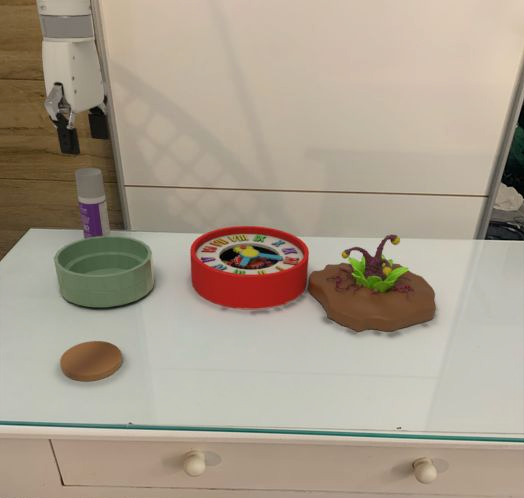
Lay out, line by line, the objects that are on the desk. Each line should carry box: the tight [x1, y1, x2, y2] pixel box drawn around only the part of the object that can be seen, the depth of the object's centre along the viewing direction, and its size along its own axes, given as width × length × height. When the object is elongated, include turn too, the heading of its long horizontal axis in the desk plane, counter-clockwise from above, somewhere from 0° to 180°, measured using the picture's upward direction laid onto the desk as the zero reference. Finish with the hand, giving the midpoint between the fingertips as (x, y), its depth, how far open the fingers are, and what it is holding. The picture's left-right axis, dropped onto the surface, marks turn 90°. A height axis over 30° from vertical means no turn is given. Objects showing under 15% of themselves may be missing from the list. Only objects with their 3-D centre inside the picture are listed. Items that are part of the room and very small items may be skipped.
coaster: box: [59, 340, 123, 382], centre depth 75 cm, size 8×8×1 cm
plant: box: [307, 234, 437, 332], centre depth 90 cm, size 20×20×11 cm
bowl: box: [53, 235, 155, 308], centre depth 91 cm, size 15×15×6 cm
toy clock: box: [189, 225, 310, 310], centre depth 95 cm, size 20×6×20 cm
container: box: [74, 167, 111, 239], centre depth 100 cm, size 5×5×15 cm
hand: (86, 145), depth 93 cm, fingers open, 9 cm apart
